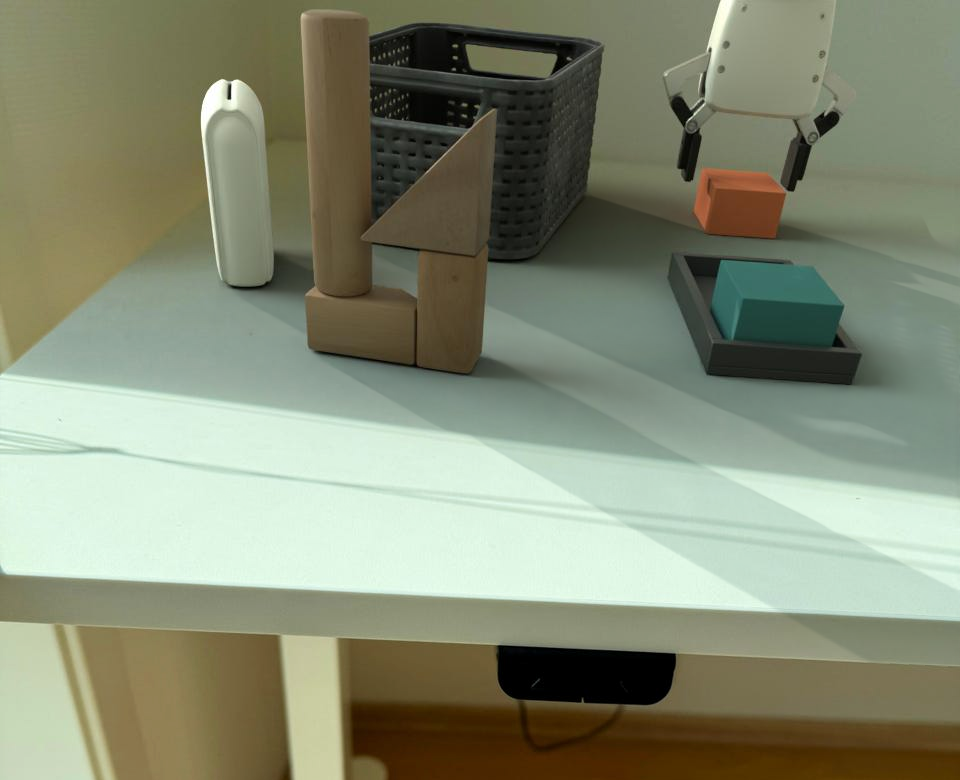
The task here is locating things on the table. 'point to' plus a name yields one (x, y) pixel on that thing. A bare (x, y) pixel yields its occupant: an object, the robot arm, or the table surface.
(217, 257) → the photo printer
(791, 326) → the teal block
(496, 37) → the storage bin
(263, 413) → the table surface
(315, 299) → the wooden block
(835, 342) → the frame
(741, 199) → the orange block
